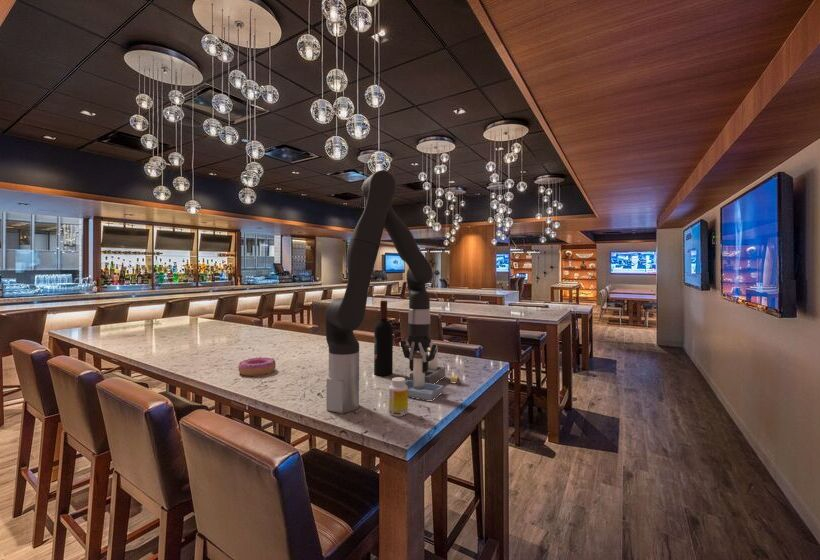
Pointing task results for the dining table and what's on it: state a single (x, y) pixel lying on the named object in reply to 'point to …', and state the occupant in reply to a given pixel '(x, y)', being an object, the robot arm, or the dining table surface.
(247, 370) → the donut
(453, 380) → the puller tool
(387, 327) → the wine bottle
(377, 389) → the dining table surface
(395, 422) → the dining table surface
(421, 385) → the cylinder
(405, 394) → the supplement bottle
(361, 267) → the robot arm
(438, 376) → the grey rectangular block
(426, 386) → the parts tray
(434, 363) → the cylinder
